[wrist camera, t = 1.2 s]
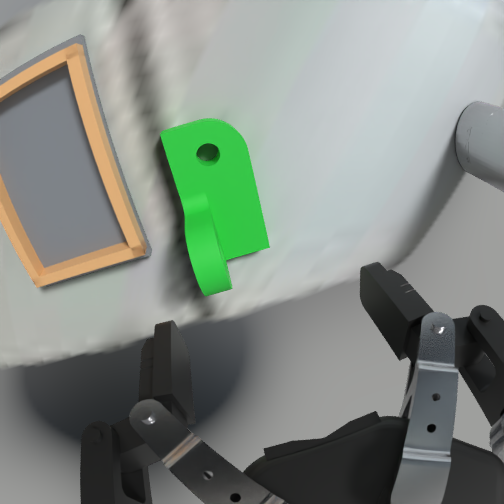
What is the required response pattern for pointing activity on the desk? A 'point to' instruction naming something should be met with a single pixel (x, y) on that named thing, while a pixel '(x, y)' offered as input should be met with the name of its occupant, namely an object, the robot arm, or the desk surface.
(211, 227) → the mechanical part
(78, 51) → the fitting jig
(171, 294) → the desk surface
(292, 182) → the desk surface
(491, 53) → the desk surface
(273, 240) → the desk surface
